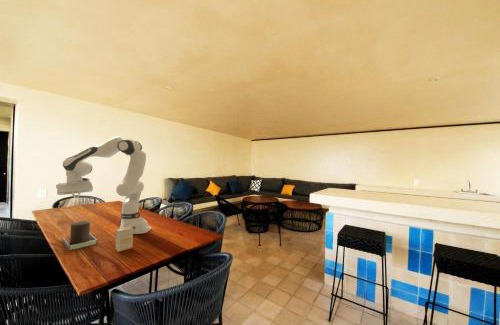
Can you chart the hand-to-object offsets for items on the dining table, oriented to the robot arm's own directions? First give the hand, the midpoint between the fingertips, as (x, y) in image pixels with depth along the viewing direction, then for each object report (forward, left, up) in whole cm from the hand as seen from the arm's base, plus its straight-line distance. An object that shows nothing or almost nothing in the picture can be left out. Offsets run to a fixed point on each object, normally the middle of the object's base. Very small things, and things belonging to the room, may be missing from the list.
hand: (76, 197), depth 147 cm
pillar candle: (-16, +17, -27) cm, 36 cm away
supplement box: (-48, +25, -27) cm, 60 cm away
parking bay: (-14, +15, -27) cm, 34 cm away
